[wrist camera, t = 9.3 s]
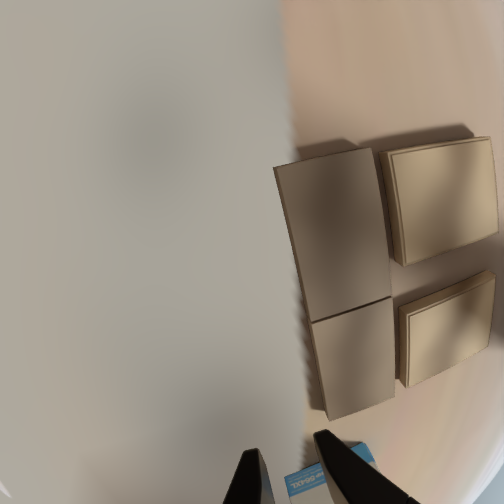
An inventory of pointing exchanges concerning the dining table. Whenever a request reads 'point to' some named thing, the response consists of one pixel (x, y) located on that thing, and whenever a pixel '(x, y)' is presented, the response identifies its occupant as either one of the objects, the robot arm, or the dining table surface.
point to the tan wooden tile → (343, 275)
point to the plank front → (440, 196)
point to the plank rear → (445, 328)
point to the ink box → (318, 481)
